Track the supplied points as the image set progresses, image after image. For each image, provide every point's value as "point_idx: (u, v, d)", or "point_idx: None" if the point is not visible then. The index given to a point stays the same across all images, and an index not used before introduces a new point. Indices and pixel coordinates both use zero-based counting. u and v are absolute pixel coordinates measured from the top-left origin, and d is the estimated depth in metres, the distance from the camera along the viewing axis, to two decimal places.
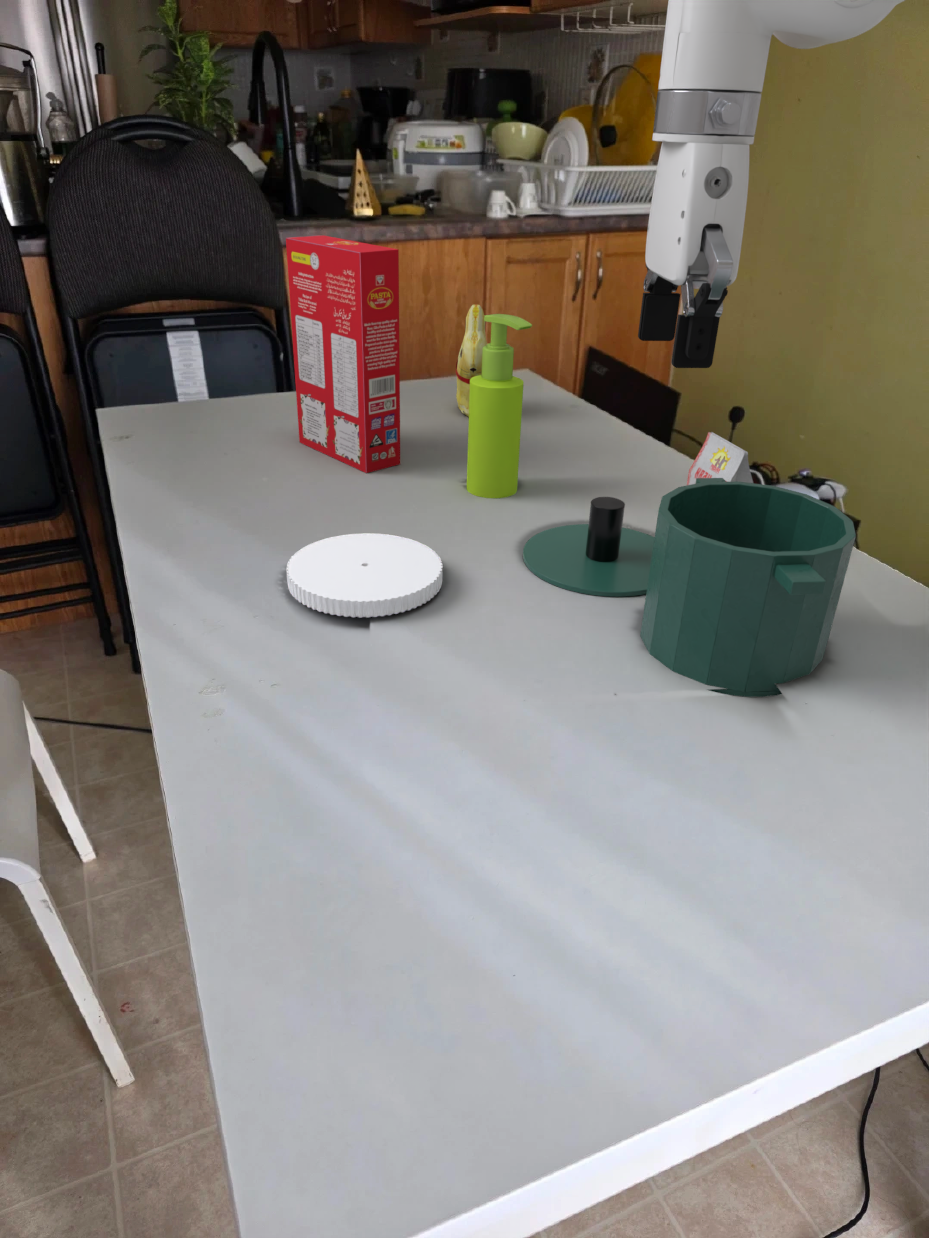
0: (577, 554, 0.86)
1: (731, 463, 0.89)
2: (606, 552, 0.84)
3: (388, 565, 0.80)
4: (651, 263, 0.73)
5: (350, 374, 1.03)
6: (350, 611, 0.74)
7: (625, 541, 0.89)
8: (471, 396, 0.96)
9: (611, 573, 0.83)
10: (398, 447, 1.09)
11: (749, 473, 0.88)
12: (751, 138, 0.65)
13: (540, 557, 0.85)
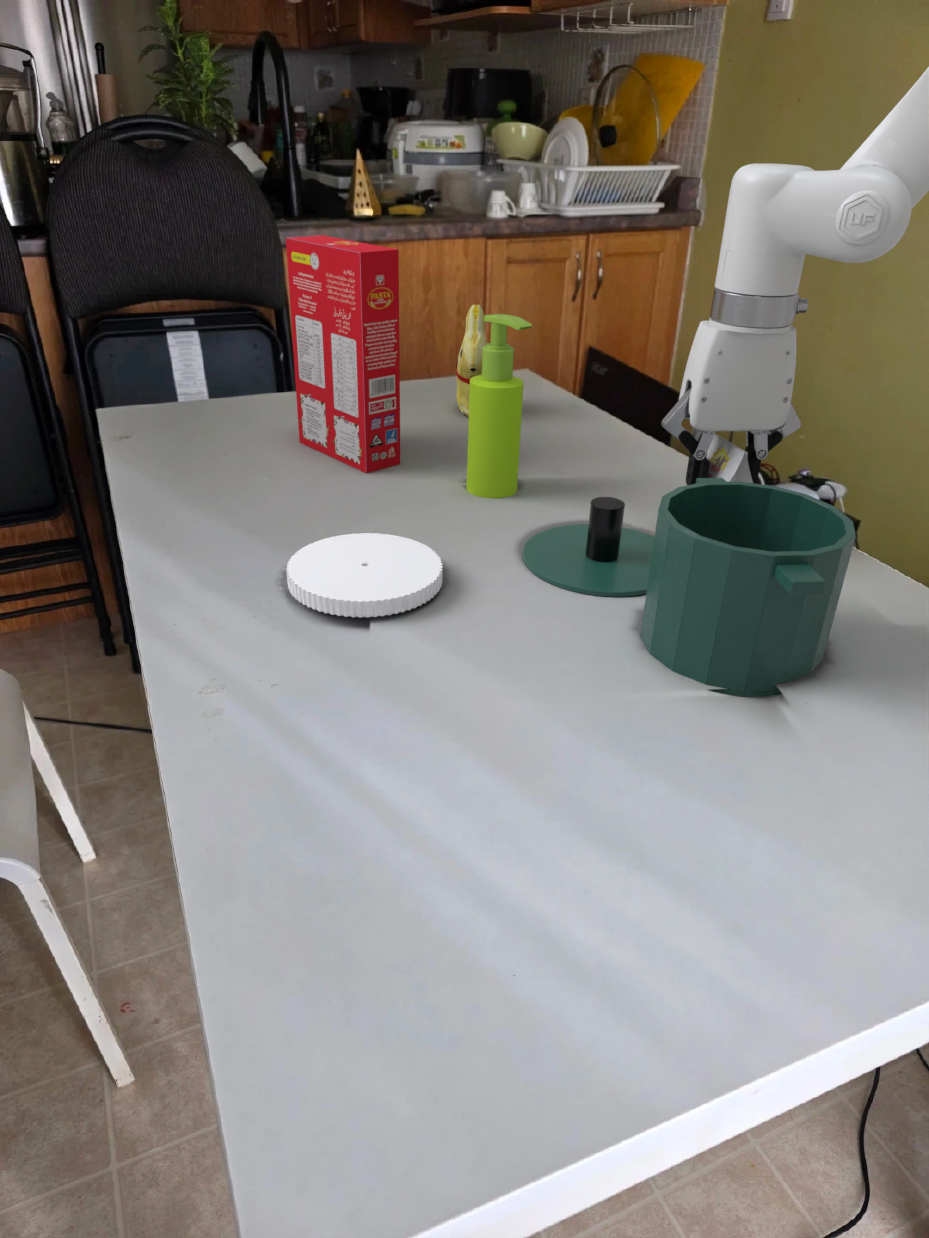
0: (577, 554, 0.86)
1: (731, 463, 0.89)
2: (606, 552, 0.84)
3: (388, 565, 0.80)
4: (717, 424, 0.87)
5: (350, 374, 1.03)
6: (350, 611, 0.74)
7: (625, 541, 0.89)
8: (471, 396, 0.96)
9: (611, 573, 0.83)
10: (398, 447, 1.09)
11: (749, 473, 0.88)
12: None
13: (540, 557, 0.85)
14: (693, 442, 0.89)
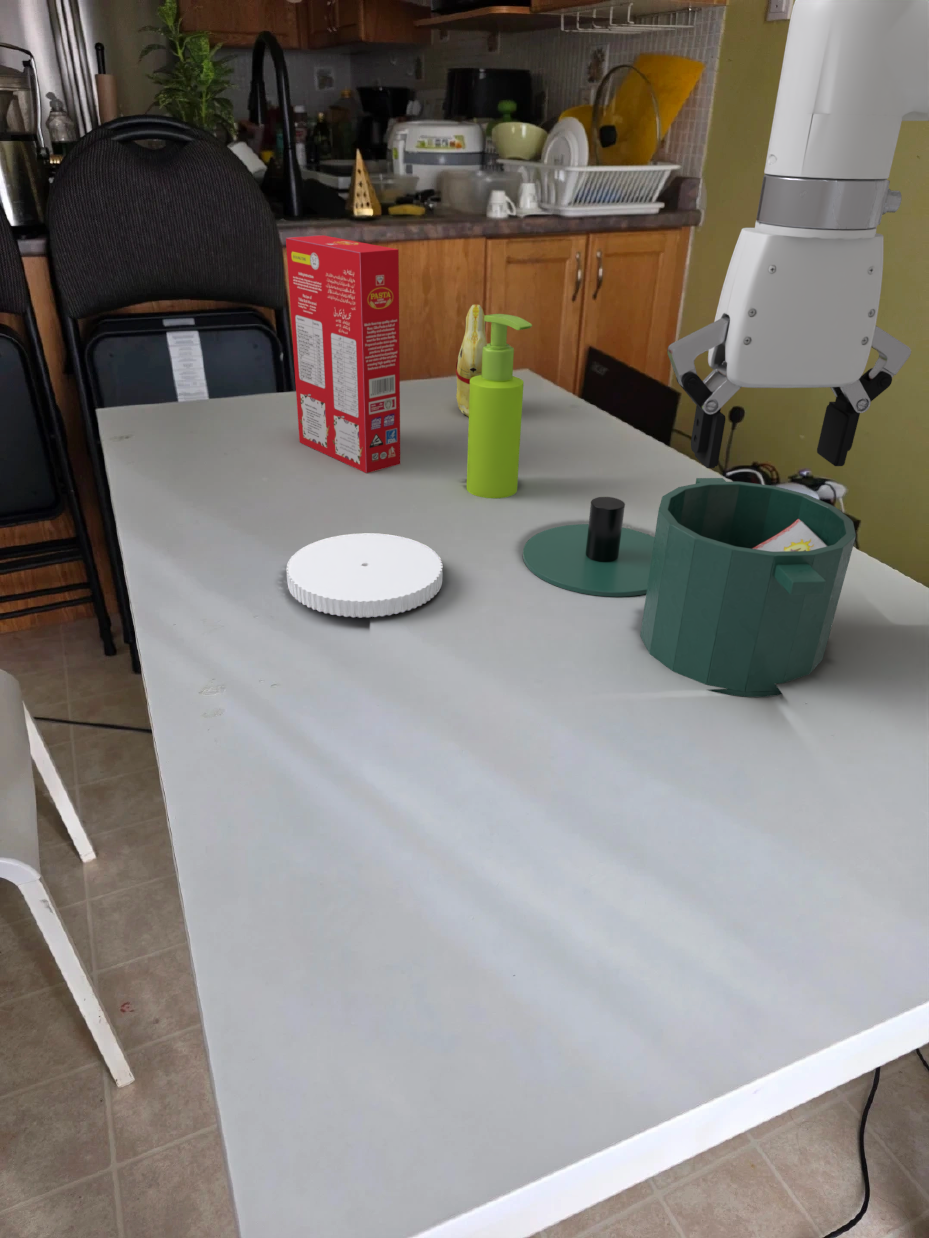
0: (577, 554, 0.86)
1: None
2: (606, 552, 0.84)
3: (388, 565, 0.80)
4: (767, 377, 0.60)
5: (350, 374, 1.03)
6: (350, 611, 0.74)
7: (625, 541, 0.89)
8: (471, 396, 0.96)
9: (611, 573, 0.83)
10: (398, 447, 1.09)
11: None
12: None
13: (540, 557, 0.85)
14: (701, 388, 0.62)
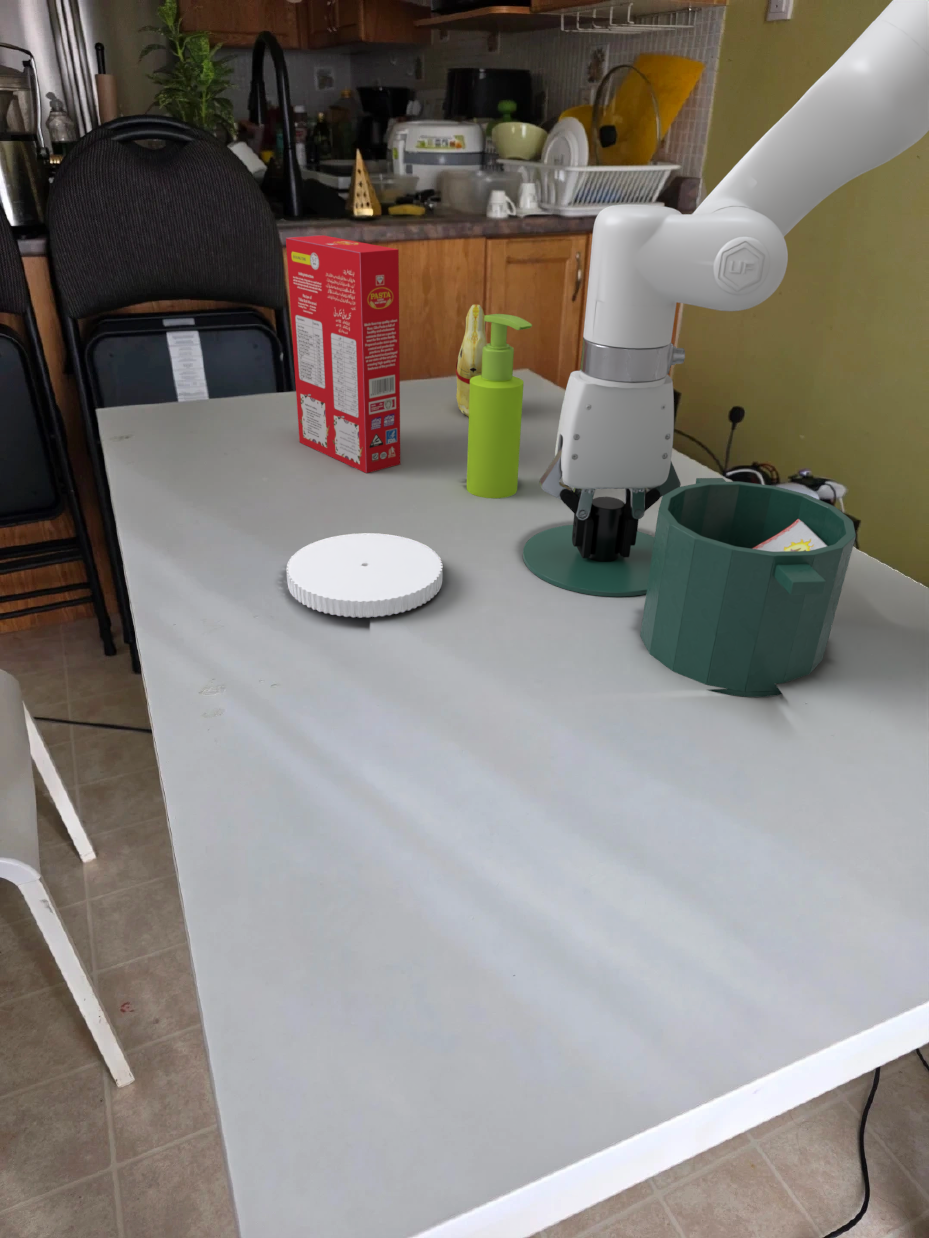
0: (577, 553, 0.86)
1: None
2: (606, 552, 0.84)
3: (388, 565, 0.80)
4: (592, 482, 0.80)
5: (350, 374, 1.03)
6: (350, 611, 0.74)
7: None
8: (471, 396, 0.96)
9: (611, 573, 0.83)
10: (398, 447, 1.09)
11: None
12: None
13: (540, 557, 0.85)
14: (575, 501, 0.82)
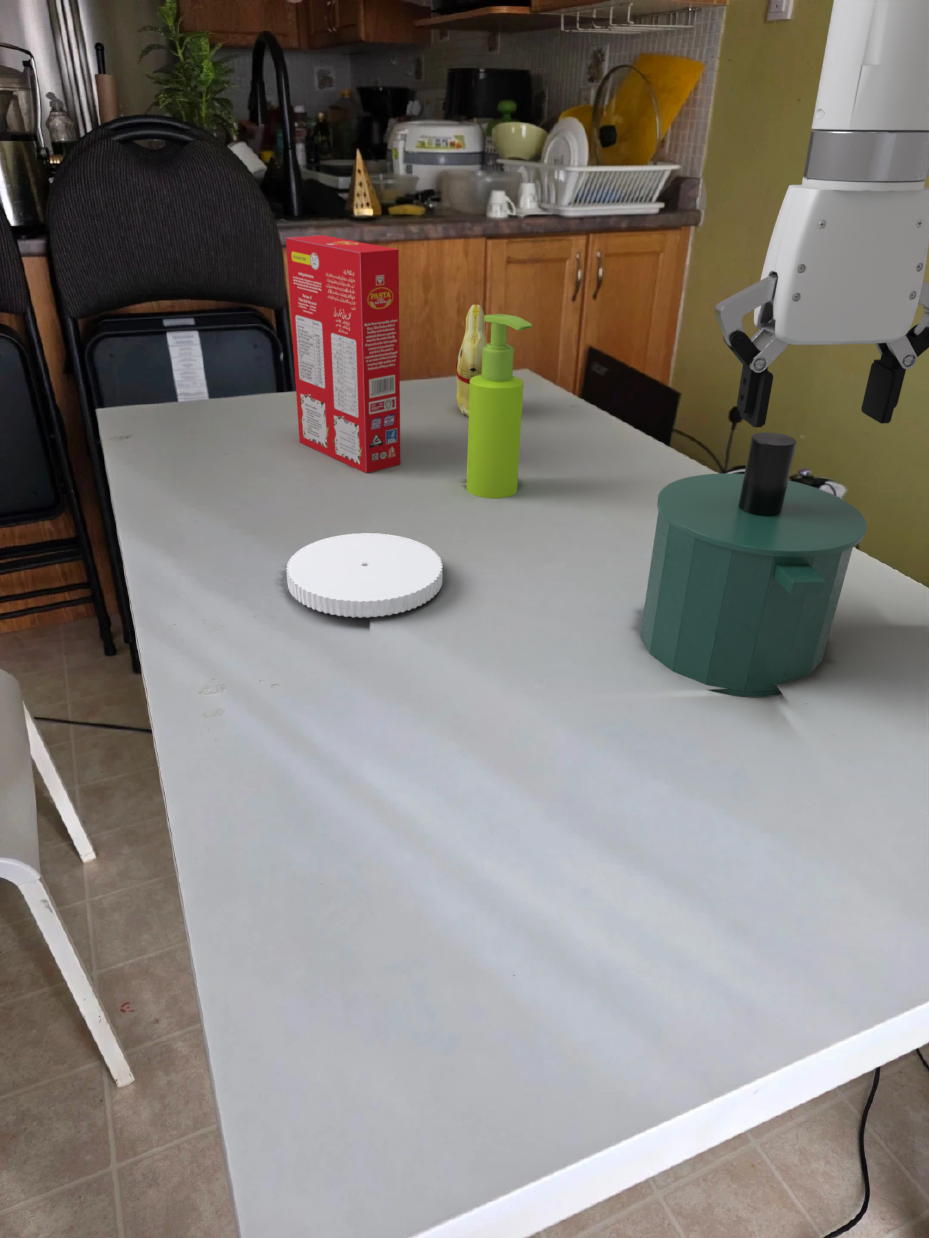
0: (728, 506, 0.68)
1: None
2: (770, 503, 0.66)
3: (388, 565, 0.80)
4: (815, 333, 0.61)
5: (350, 374, 1.03)
6: (350, 611, 0.74)
7: None
8: (471, 396, 0.96)
9: (780, 529, 0.64)
10: (398, 447, 1.09)
11: None
12: None
13: (683, 511, 0.67)
14: (749, 347, 0.62)
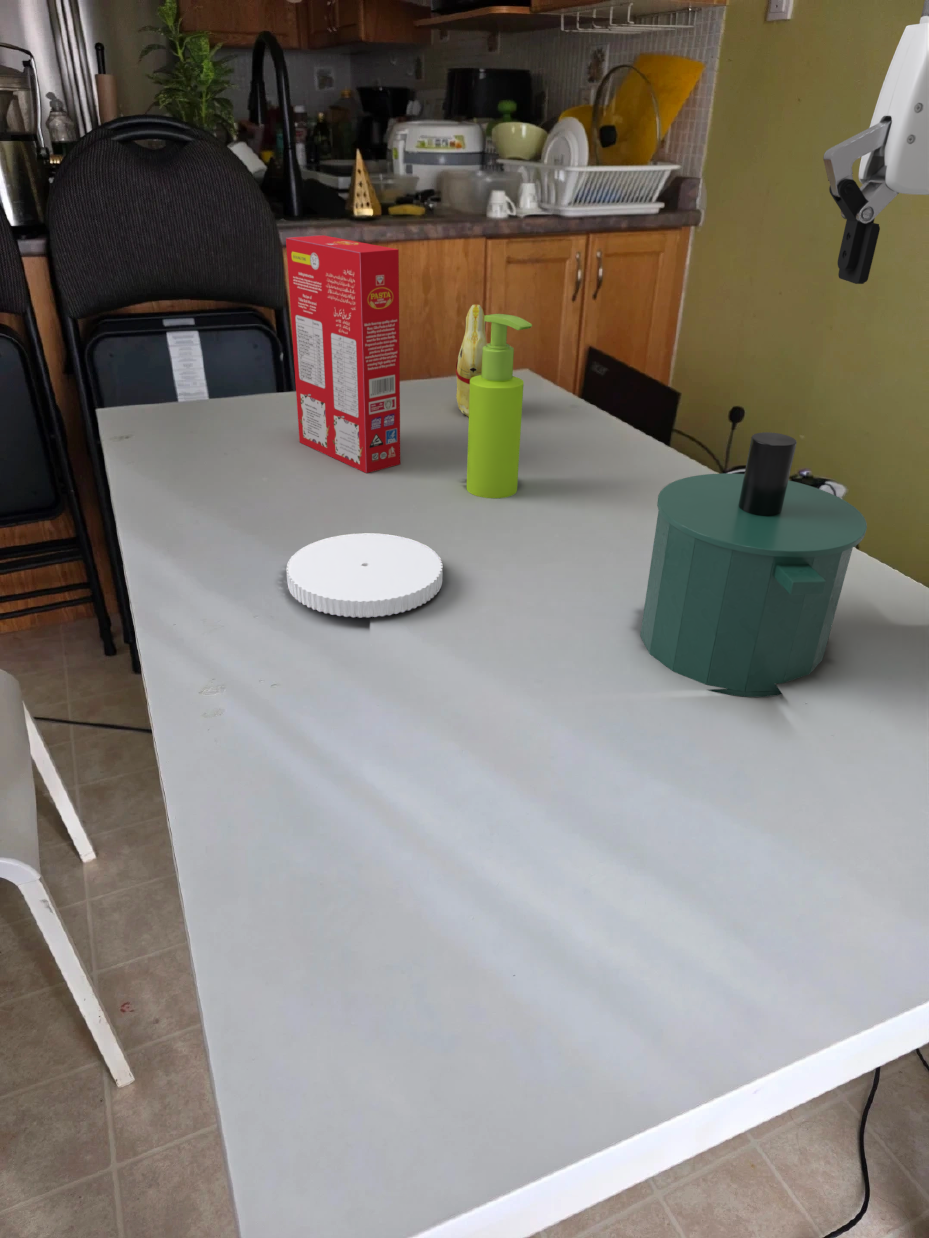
0: (728, 506, 0.68)
1: None
2: (770, 503, 0.66)
3: (388, 565, 0.80)
4: (926, 181, 0.60)
5: (350, 374, 1.03)
6: (350, 611, 0.74)
7: None
8: (471, 396, 0.96)
9: (780, 529, 0.64)
10: (398, 447, 1.09)
11: None
12: None
13: (683, 511, 0.67)
14: (857, 196, 0.61)
